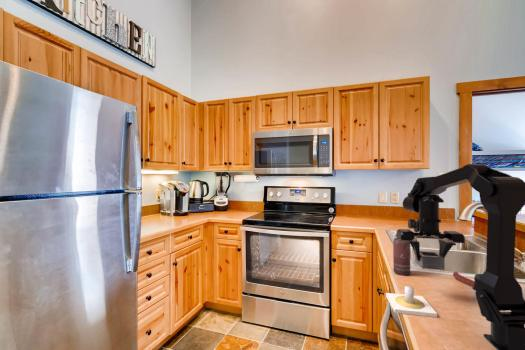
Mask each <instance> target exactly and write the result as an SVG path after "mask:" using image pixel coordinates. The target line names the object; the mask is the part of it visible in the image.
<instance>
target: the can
mask: <svg viewBox="0 0 525 350" xmlns="http://www.w3.org/2000/svg"><path fill="white" fill-rule="evenodd" d="M392 243H393V244H392V246H393V249H392V250H393V251H392V252H393V253H392V255H393V256H392V257H393V262H392V263H393V272H394V273H395V274H396V275H398V276H403V277H404V276H409V275H410V274H411V244H410V243H409V242H407V241H406V240H401V239H399V238H398V237H396V238H395V237H394V238H393V242H392Z"/></svg>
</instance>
